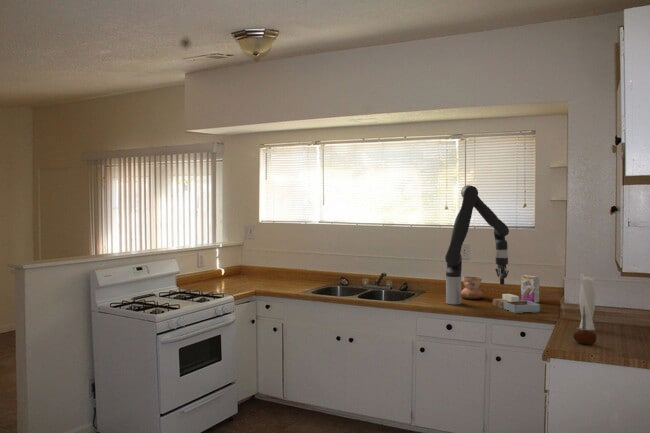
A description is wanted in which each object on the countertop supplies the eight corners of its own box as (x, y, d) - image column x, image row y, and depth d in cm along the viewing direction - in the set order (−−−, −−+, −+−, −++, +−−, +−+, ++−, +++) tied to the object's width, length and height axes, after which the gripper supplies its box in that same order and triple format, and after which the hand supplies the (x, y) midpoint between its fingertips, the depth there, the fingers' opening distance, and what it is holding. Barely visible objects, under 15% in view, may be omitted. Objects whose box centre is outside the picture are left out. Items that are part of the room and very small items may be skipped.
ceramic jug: (476, 301, 361) (477, 279, 361) (455, 298, 371) (456, 277, 370) (487, 298, 375) (488, 276, 375) (467, 295, 385) (468, 274, 384)
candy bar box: (520, 300, 363) (520, 275, 363) (525, 299, 365) (525, 274, 365) (534, 303, 353) (534, 277, 353) (539, 302, 356) (539, 276, 355)
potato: (592, 347, 247) (592, 332, 247) (570, 343, 253) (570, 329, 253) (598, 344, 252) (598, 330, 251) (577, 340, 258) (577, 326, 258)
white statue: (574, 327, 286) (574, 273, 285) (589, 327, 286) (589, 272, 286) (583, 331, 277) (583, 275, 277) (598, 331, 278) (599, 274, 277)
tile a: (502, 298, 347) (502, 294, 347) (509, 298, 348) (509, 293, 348) (506, 300, 342) (506, 295, 342) (514, 299, 343) (514, 295, 343)
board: (492, 305, 348) (492, 298, 348) (516, 304, 351) (516, 297, 351) (503, 309, 335) (503, 302, 335) (527, 307, 338) (527, 301, 338)
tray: (503, 309, 335) (503, 301, 335) (527, 307, 338) (528, 300, 338) (515, 313, 322) (515, 305, 322) (540, 312, 325) (540, 304, 325)
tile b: (507, 300, 341) (507, 295, 341) (514, 300, 342) (514, 295, 342) (511, 301, 337) (511, 296, 336) (518, 301, 338) (518, 296, 337)
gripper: (491, 256, 358) (491, 283, 358) (501, 257, 345) (501, 286, 345) (502, 255, 359) (502, 282, 359) (512, 257, 346) (513, 285, 346)
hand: (502, 284), depth 352 cm, fingers closed
